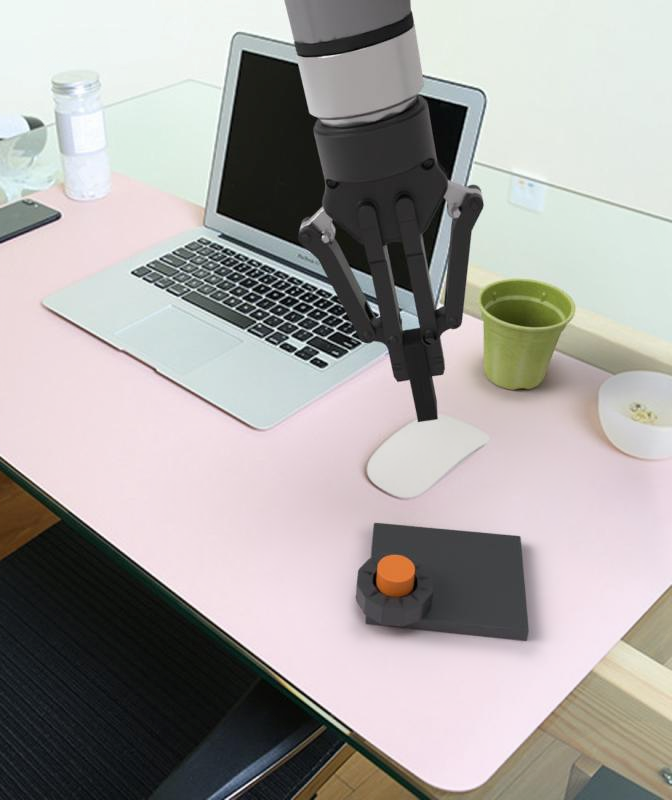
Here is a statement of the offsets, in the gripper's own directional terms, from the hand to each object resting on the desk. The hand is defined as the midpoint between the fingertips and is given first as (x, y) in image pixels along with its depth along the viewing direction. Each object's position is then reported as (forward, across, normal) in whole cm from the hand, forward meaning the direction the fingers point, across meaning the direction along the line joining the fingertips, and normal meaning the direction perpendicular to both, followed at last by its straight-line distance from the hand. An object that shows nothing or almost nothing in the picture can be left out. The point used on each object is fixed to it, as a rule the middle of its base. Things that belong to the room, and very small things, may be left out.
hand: (427, 411), depth 73 cm
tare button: (+10, +4, +8) cm, 13 cm away
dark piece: (+13, +1, +5) cm, 14 cm away
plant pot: (+13, -7, -25) cm, 29 cm away
